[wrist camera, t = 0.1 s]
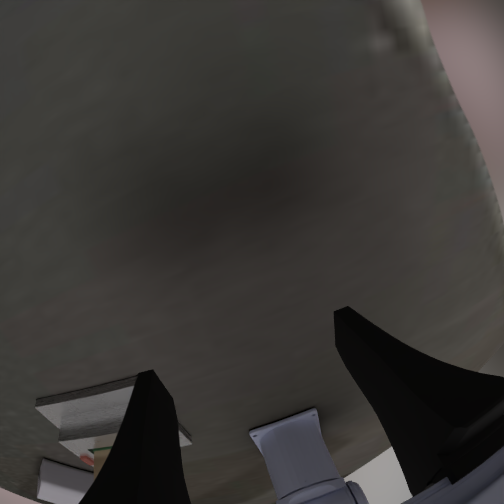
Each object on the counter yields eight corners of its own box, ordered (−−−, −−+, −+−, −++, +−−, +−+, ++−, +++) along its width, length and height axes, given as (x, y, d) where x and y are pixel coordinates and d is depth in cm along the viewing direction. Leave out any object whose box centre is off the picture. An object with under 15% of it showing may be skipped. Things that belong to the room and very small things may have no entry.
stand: (191, 436, 31) (197, 469, 27) (101, 453, 30) (101, 484, 26) (138, 375, 25) (138, 417, 21) (36, 399, 24) (29, 435, 20)
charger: (126, 496, 38) (38, 474, 32) (144, 480, 36) (43, 455, 29) (128, 520, 34) (36, 499, 28) (147, 508, 32) (40, 485, 25)
